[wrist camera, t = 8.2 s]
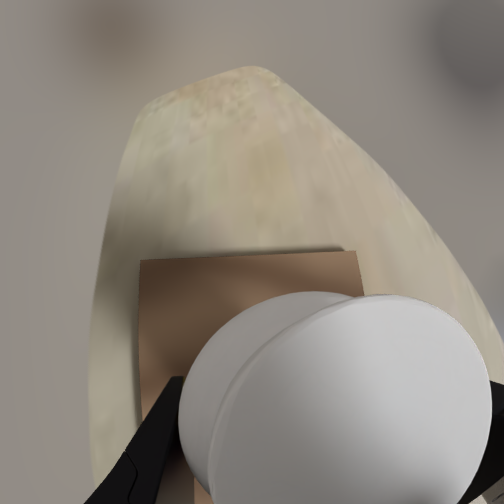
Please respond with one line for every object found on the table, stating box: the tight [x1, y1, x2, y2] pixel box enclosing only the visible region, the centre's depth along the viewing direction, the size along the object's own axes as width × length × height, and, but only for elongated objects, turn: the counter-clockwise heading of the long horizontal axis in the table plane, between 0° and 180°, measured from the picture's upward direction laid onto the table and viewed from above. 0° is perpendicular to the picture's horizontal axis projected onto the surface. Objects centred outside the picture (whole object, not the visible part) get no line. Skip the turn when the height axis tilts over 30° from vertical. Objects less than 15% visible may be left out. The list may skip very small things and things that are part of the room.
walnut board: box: [138, 251, 364, 504], centre depth 18 cm, size 18×16×1 cm
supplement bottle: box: [178, 291, 492, 504], centre depth 9 cm, size 7×7×13 cm
